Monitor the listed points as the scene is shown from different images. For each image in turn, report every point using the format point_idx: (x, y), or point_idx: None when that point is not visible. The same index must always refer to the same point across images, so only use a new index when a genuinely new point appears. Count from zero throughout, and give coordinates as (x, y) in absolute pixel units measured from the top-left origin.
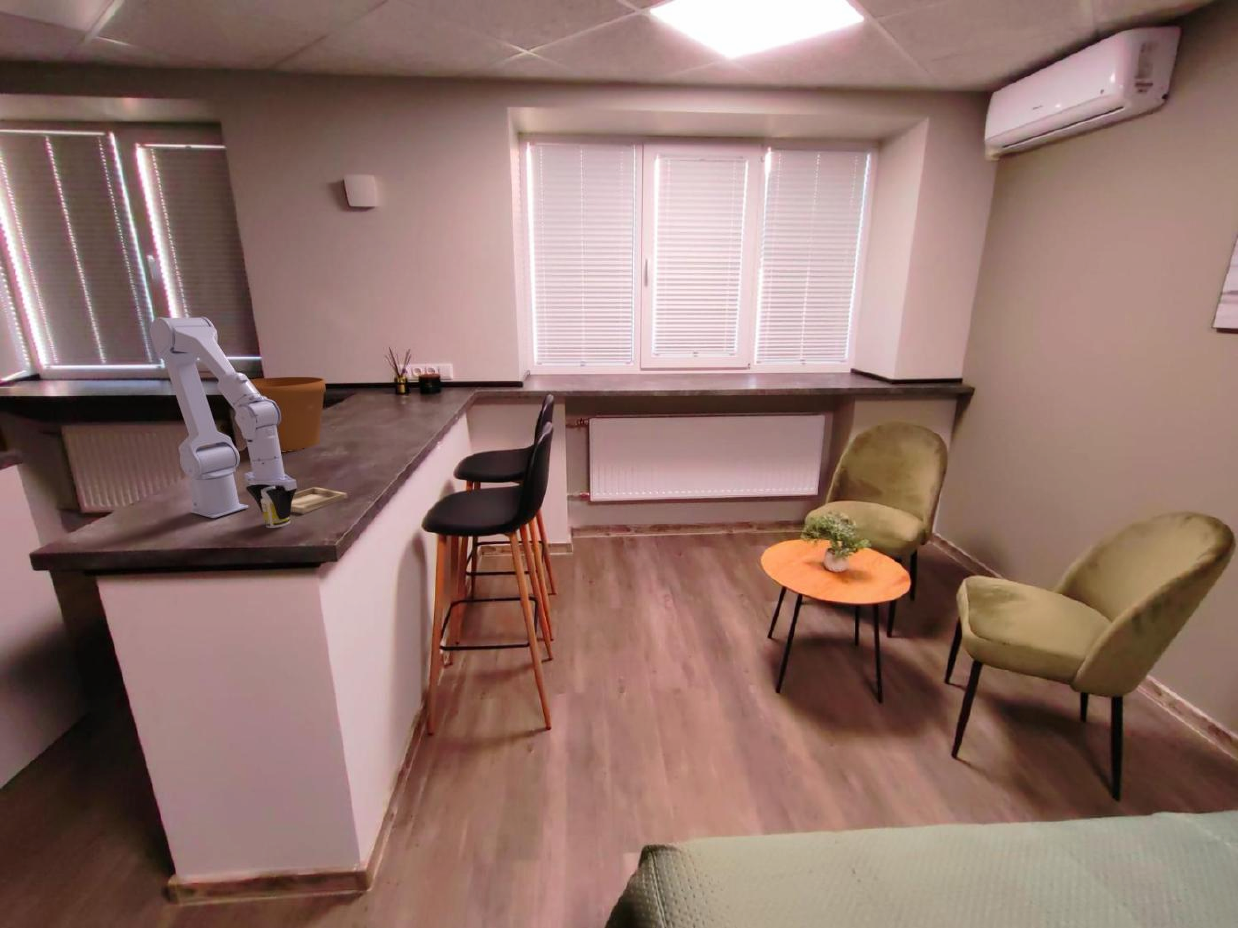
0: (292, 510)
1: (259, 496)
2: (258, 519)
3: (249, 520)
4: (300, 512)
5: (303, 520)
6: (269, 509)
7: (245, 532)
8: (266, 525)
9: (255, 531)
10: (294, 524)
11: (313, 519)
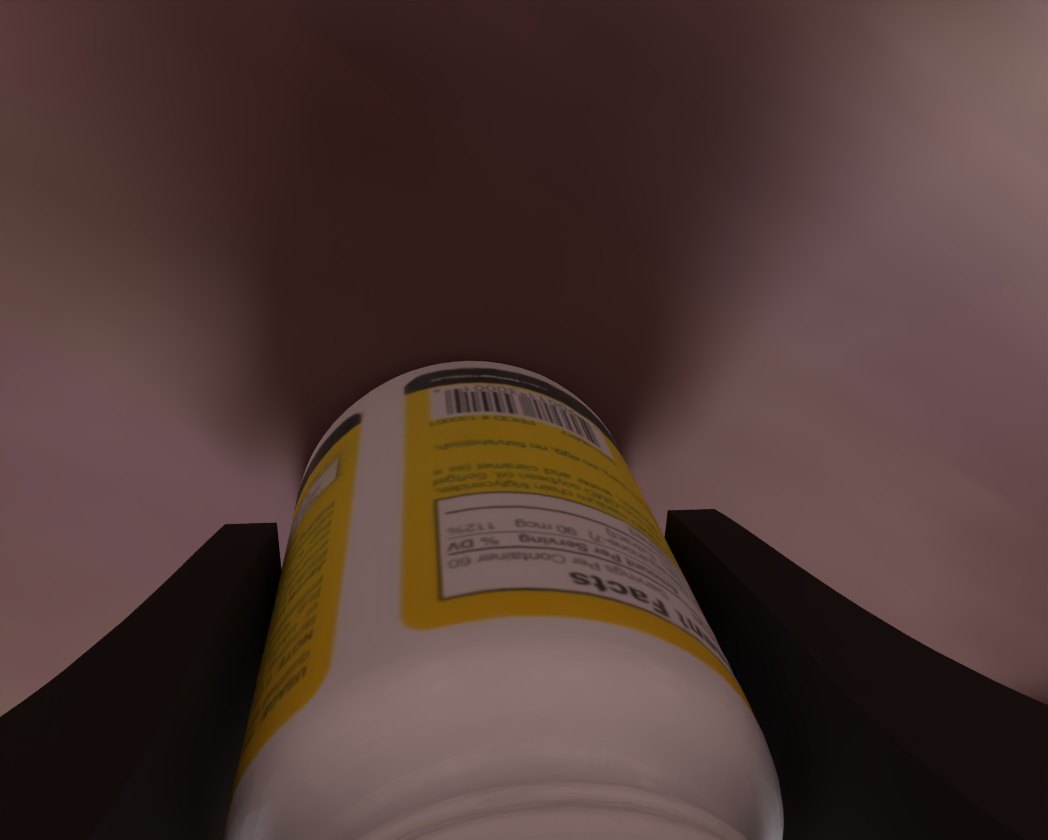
0: None
1: (859, 782)
2: (920, 492)
3: (1014, 418)
4: None
5: None
6: (364, 564)
7: (639, 77)
8: (499, 370)
9: (522, 181)
10: None
11: None
